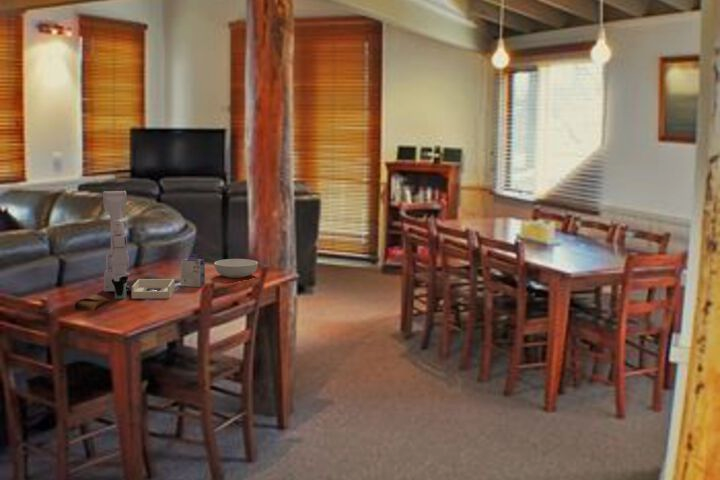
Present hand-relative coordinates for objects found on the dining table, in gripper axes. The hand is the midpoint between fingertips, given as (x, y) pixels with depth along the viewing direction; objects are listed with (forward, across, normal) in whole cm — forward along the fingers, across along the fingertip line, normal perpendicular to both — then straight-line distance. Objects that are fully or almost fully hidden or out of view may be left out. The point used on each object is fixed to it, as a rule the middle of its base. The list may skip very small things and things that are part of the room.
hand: (120, 294), depth 372 cm
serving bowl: (+2, +44, -46) cm, 64 cm away
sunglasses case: (+2, -13, +8) cm, 16 cm away
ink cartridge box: (+2, +23, -28) cm, 36 cm away
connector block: (+1, 0, 0) cm, 1 cm away
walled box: (+1, +6, -13) cm, 14 cm away
